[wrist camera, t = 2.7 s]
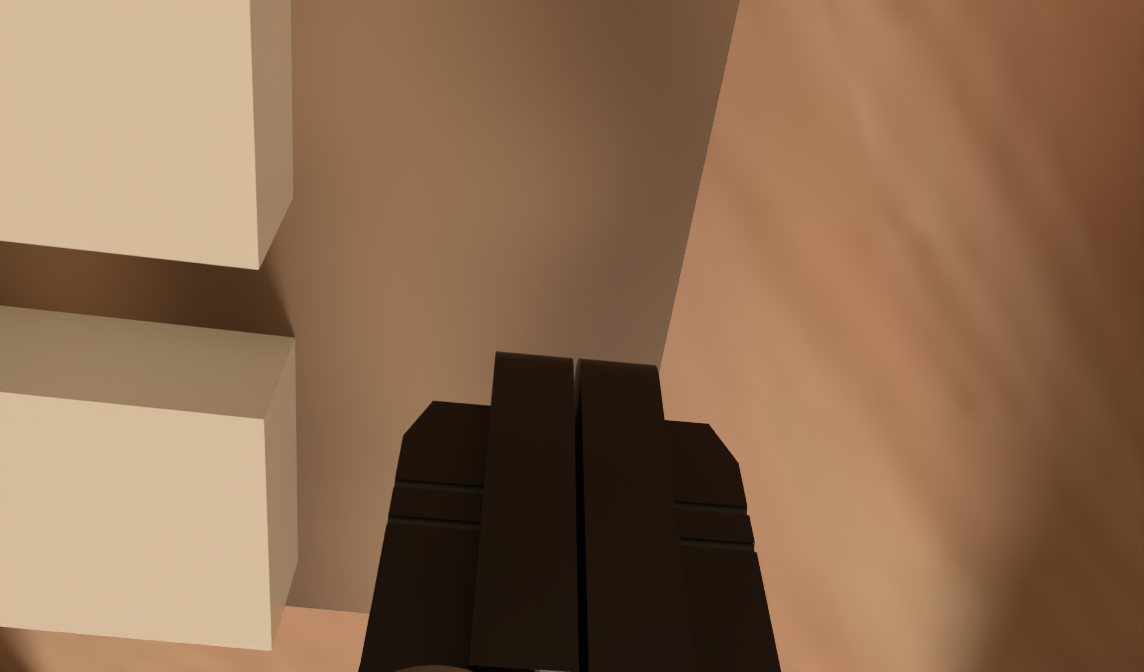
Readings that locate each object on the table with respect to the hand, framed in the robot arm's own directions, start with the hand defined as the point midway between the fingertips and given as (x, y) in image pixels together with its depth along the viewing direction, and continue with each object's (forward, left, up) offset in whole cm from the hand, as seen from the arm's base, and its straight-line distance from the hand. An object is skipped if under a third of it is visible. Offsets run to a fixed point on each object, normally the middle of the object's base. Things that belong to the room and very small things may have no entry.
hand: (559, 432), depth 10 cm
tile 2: (+7, +9, -9) cm, 15 cm away
